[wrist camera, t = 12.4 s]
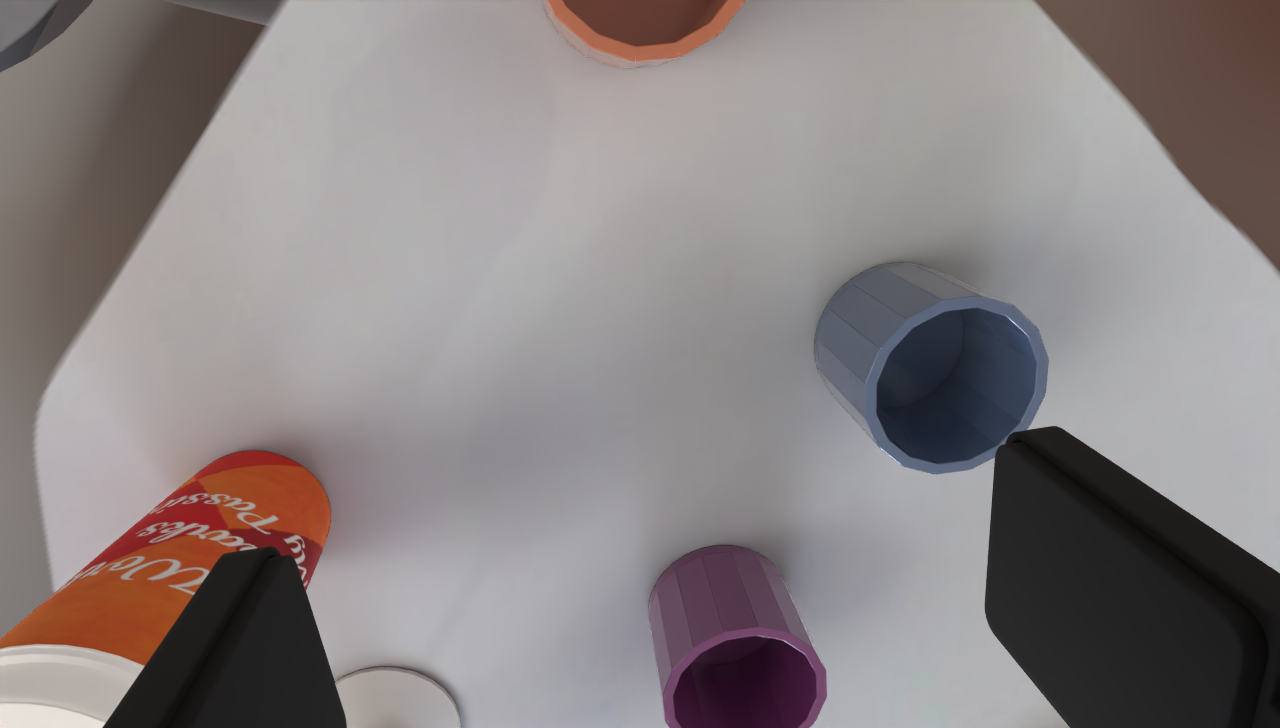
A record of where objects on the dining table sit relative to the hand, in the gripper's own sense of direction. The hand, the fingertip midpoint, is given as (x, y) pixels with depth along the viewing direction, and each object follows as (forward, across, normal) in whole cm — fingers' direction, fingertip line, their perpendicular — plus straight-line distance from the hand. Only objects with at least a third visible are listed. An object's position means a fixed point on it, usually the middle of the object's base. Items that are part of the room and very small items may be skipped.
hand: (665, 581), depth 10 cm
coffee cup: (+22, +16, +10) cm, 29 cm away
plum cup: (+22, -4, +18) cm, 29 cm away
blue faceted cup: (+22, -13, +6) cm, 26 cm away
